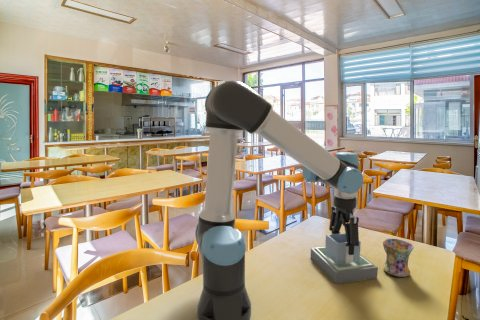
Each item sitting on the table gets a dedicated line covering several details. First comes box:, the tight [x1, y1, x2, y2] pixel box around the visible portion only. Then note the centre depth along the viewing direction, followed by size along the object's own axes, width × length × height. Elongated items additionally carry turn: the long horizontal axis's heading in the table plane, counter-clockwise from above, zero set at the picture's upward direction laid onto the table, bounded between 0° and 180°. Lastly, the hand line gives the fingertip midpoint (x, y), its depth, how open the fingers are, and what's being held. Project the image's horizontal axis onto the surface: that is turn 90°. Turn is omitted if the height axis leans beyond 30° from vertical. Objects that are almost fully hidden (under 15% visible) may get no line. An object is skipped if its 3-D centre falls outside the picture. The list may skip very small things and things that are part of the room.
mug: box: [382, 238, 414, 278], centre depth 104 cm, size 12×9×11 cm
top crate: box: [314, 246, 372, 271], centre depth 106 cm, size 13×16×4 cm
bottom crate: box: [310, 246, 379, 285], centre depth 107 cm, size 16×19×4 cm
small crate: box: [324, 232, 362, 264], centre depth 106 cm, size 9×8×8 cm
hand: (342, 256), depth 106 cm, fingers closed on small crate, 8 cm apart
